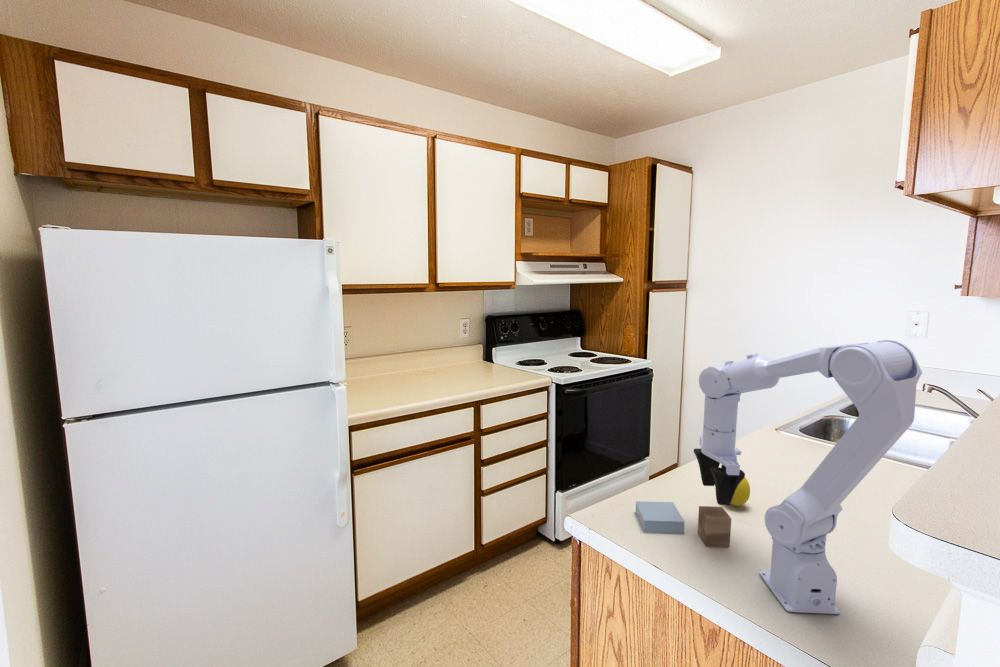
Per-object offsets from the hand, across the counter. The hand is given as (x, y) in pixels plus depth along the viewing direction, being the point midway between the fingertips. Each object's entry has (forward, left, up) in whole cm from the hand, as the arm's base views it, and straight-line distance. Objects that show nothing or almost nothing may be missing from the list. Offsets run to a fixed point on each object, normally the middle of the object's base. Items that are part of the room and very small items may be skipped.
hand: (715, 494), depth 90 cm
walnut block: (0, 0, -10) cm, 10 cm away
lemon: (+14, -10, -10) cm, 20 cm away
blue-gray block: (+6, +9, -10) cm, 15 cm away
